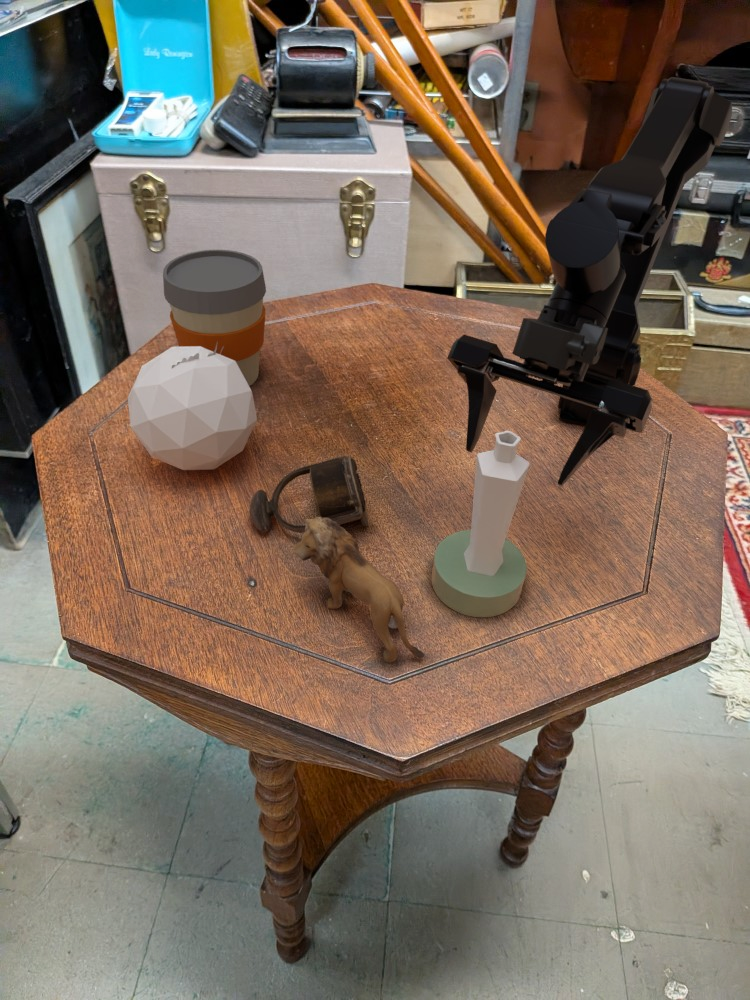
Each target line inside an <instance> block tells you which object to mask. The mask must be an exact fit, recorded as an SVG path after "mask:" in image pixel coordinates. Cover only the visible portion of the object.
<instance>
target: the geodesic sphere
mask: <svg viewBox="0 0 750 1000" xmlns="http://www.w3.org/2000/svg"><path fill="white" fill-rule="evenodd" d="M216 344H218V343H216ZM223 347H224V346H223ZM222 349H223V348H222ZM216 350H217V346H216V347H215V350H214V352H213V351H210V350H208V349H206V348H203V347H201V346H184V347H179V346H170V347H169V348H168V349H166V350H164V351H163V352H161V353H160V354H158V355H157V356H155V357H154V358H152V359H151V360H149V361H147V362H146V363H144V364H142V366H141V368H140V370H139V372H138V374H137V376H136V378H135V380H134V382H133V384H132V387H131V389H130V392H129V394H128V396H127V405H128V417H129V426H130V429H131V430H132V431H133V433H134V435H135V436H136V437H137V439H138V440H139V441H140V443H141V444H142V446H143V447H144V449H145V450H146V451H147V453H148V454H149V456H150V457H151V458H153V459H155V460H158V461H160V462H163V463H165V464H168V465H170V466H172V467H174V468H177V469H179V470H182V471H201V470H202V471H203V470H204V471H206V470H209V471H210V470H215V469H217V468H218V467H220V466H222V465H223V464H225V463H227V462H228V461H229V460H231V459H233V458H234V457H236V456H237V455H239V453H240V454H241V452H243V451H244V449H245V447H246V445H247V443H248V440H249V439H250V436H251V434H252V432H253V430H254V427H255V425H256V424H257V421H258V417H257V412H256V406H255V400H254V395H253V390H252V389H251V386H249V385H248V383H247V381H246V380H245V378H244V376H243V374H242V372H241V371H240V369H239V367H238V365H237V363H236V361H234V360H232V359H230V358H227V357H225V356H222V355H220V354H221V352H222V350H221V352H220V354H218V353H216Z"/></svg>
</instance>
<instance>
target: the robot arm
mask: <svg viewBox="0 0 750 1000" xmlns="http://www.w3.org/2000/svg"><path fill="white" fill-rule="evenodd" d="M647 106H648V107H647V109H646V112H645V115H644V118H643V121H642V124H641V126H640V128H639V129H638V131H637V133H636V134H635V136H634V138H633V139H632V141H631V142H630V145H629V146H628V148H627V150H626V151H625V153H624V154H623V156H622V158H621V159H620V160H617V161H615V162H613V163H612V162H611V163H609V164H606V165H605V166H602V167H601V168H600V169H599V170H598V171H597V173H596V174H595V175H594V176H593V178H592V179H591V180H590V182H589V184H587V187H586V188H584V187H583V188H582V189H580V191H579V192H578V193H577V195H576V196H575V197H574V198H573V199H572V201H571V202H570V203H569V204H568V206H565V207H563V208H562V209H561V210H559V211H558V212H557V213H556V215H554V217H553V218H552V219H550V220H549V223H548V224H547V227H546V230H545V236H544V238H545V239H544V242H545V247H546V252H547V255H548V259H549V263H550V267H551V271H552V274H553V278H554V280H555V281H556V283H555V285H554V287H553V290H552V292H551V294H550V297H549V300H548V301H547V304H544V306H543V308H542V309H541V311H540V313H539V316H538V317H537V318H531V317H530V318H529V317H523V318H522V320H521V324H520V327H519V330H518V334H517V337H516V340H515V343H514V347H513V349H512V355H513V356H516V357H518V358H519V359H521V360H523V362H520V361H517V360H513V359H510V358H506V357H504V355H503V353H502V351H501V349H500V348H499V346H498V344H497V343H494V342H490V341H488V340H484V339H481V338H477V337H474V336H470V335H468V334H462V335H461V336H460V337H458V338H456V340H455V341H454V342H453V343H452V345H451V347H450V350H449V353H448V355H447V356H446V357H447V360H448V361H449V362H450V364H451V365H452V366H453V367H454V369H455V370H456V372H457V374H458V375H459V377H461V379H462V380H463V381H464V382H465V384H466V388H467V397H468V398H467V399H468V411H467V413H468V415H467V428H466V442H465V450H466V451H467V452H469V453H473V452H474V449H475V448H476V446H477V444H478V442H479V440H480V437H481V435H482V432H483V429H484V426H485V424H486V421H487V419H488V416H489V413H490V410H491V407H492V405H493V403H494V402H493V401H494V399H495V397H496V395H497V391H498V390H497V389H496V388H495V386H494V385H493V383H494V382H496V381H497V380H499V379H500V378H501V379H504V380H507V381H511V382H514V383H517V384H520V385H523V386H526V387H530V388H532V389H536V390H539V391H541V392H545V393H548V394H551V395H554V396H558V403H557V408H558V410H560V411H559V415H558V420H559V422H560V421H561V422H564V423H569V424H573V425H578V426H584V428H583V430H582V432H581V434H580V436H579V438H578V440H577V441H576V443H575V445H574V446H573V449H572V451H571V453H570V454H569V456H568V458H567V460H566V462H565V463H564V465H563V467H562V470H561V473H560V475H559V477H558V480H557V485H558V486H560V487H563V486H564V485H565V484H566V483H567V482H568V481H569V479H570V478H571V477H572V476H573V475H574V474H575V473H576V472H577V471H578V470H579V469H580V468H581V467H582V465H584V463H585V462H586V461H587V460H588V459H589V458H590V457H591V455H592V454H594V453H595V452H596V451H597V450H598V449H599V448H601V447H602V446H603V445H605V443H607V442H608V441H609V440H611V438H612V437H614V436H617V437H620V438H625V437H626V435H627V430H628V431H631V432H634V433H638V434H643V432H644V429H645V428H646V425H647V422H648V420H649V418H650V416H651V415H650V414H651V412H652V404H653V403H652V402H653V398H652V396H651V395H650V392H649V390H648V389H645V388H641V387H638V386H635V385H636V383H637V382H638V381H637V380H638V378H639V374H640V370H641V366H642V359H643V358H642V356H641V348H642V347H641V343H638V341H639V340H640V336H641V332H642V331H641V326H640V320H639V314H638V313H639V312H638V309H637V308H638V305H639V303H640V299H641V297H642V294H643V292H644V289H645V287H646V285H647V281H648V279H649V276H650V274H651V271H652V270H653V266H654V264H655V261H656V259H657V256H658V253H659V251H660V248H661V245H662V243H663V241H664V238H665V235H666V233H667V231H668V227H669V225H670V223H671V220H672V217H673V215H674V212H675V211H676V207H677V205H678V202H679V199H680V197H681V195H682V192H683V189H684V187H685V185H686V184H687V183H688V182H689V181H690V180H691V179H693V178H694V177H695V176H696V175H697V174H699V173H700V172H701V171H702V170H703V169H704V168H705V167H707V166H708V164H709V161H710V159H711V156H712V154H713V152H714V150H715V147H716V146H717V147H721V145H722V143H723V142H724V140H725V137H726V134H727V132H728V129H729V126H730V123H731V120H732V117H733V102H732V101H731V100H729V99H727V98H725V97H724V96H722V95H721V94H719V93H718V92H715V88H714V86H713V85H709V83H708V82H706V81H700V80H694V79H687V78H681V77H675V76H671V77H669V78H663V79H662V80H661V82H660V84H659V86H658V87H656V88H654V89H653V92H652V95H651V98H650V100H649V103H648V105H647ZM533 377H534V378H533ZM559 384H561V385H560V386H559Z"/></svg>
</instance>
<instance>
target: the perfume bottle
mask: <svg viewBox="0 0 750 1000" xmlns="http://www.w3.org/2000/svg"><path fill="white" fill-rule="evenodd" d="M494 436H495V443H494V448H493V449H491V450H487V451H486V450H485V451H482V452H478V453H476V463H475V475H474V486H473V487H474V488H473V499H472V512H471V524H470V530H471V534H470V544H469V546H468V547H467V549H466V551H465V552H464V556H465V561H466V565H467V569H468V571H470V572H475V573H479V574H484V575H489V576H494V575H495V573H496V572H497V570H498V569H499V568H500V566H501V565H502V563H503V554H502V548H503V545H504V542H505V539H507V536H508V533H509V530H510V526H511V524H512V521H513V517H514V514H515V511H516V508H517V505H518V502H519V499H520V495H521V494H522V490H523V487H524V483H525V481H526V477H527V475H528V472H529V468H530V464H531V463H530V462H529V461H528V460H527V459H525V458H524V457H522V456H520V455H519V454H517V452H518V451H517V450H518V446H519V443H520V441H521V440H522V438H521V437H520V436H519V435H517V434H516V433H514V432H513V431H511V430H504V431H499V432H496V433H495V434H494Z"/></svg>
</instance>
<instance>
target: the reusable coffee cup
mask: <svg viewBox="0 0 750 1000" xmlns="http://www.w3.org/2000/svg"><path fill="white" fill-rule="evenodd" d="M162 277H163V278H162V281H163V295H164V296H163V297H164V299H165V300H166V302H167V303H168V304H169V307H170V312H169V318H170V321H171V325H172V327H173V331H174V334H175V337H176V340H177V344H178V347H184V346H201V347H203V348H206V349H208V350H210V351H213V352H214V350H215V347H216V346H217V350H216V353H218V354H220V352H221V350H222V352H221V354H220V355H222V356H225V357H227V358H230V359H232V360H234V361H236V363H237V365H238V367H239V369H240V371H241V372H242V374H243V376H244V378H245V380H246V381H247V383H248V385H249V387H251V386H252V385H253V384H254V383H255V382H256V381H257V379H258V378H259V374H260V373H259V372H260V355H261V348H262V347H263V346H264V341H265V326H266V307H265V305H264V297H265V295H266V292H267V285H266V281H265V276H264V271H263V266H262V264H261V262H260V261H259V260H258V259H257V258H255V257H253V256H252V255H250V254H247V253H244V252H240V251H237V250H236V251H235V250H229V249H204V250H198V251H192V252H187V253H186V254H181V255H179V256H177V257H175V258H173V259H171V260H170V261H169V262H168V263H166V265H165V266H164V267H163V271H162ZM216 343H218V344H216ZM223 346H224V347H223ZM222 348H223V349H222Z"/></svg>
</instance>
